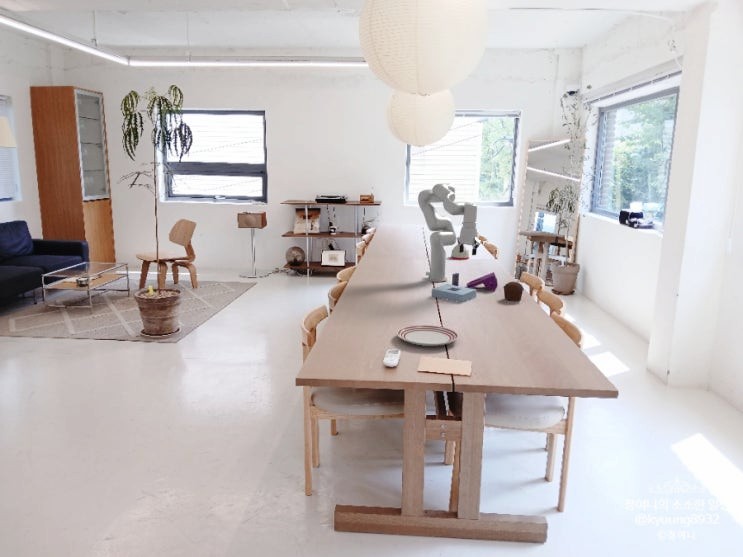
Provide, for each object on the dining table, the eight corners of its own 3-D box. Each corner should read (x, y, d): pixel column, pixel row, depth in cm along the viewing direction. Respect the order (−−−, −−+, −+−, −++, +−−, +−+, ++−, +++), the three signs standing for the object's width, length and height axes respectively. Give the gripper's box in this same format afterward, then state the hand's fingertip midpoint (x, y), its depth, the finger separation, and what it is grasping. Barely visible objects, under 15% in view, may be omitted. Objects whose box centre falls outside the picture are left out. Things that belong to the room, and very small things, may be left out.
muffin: (512, 303, 307) (513, 285, 305) (498, 298, 316) (499, 281, 314) (527, 300, 313) (528, 283, 311) (512, 295, 323) (514, 279, 320)
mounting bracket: (471, 298, 338) (499, 288, 333) (466, 286, 337) (494, 275, 332) (471, 294, 347) (499, 284, 342) (466, 282, 346) (493, 272, 341)
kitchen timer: (471, 257, 436) (472, 239, 432) (464, 260, 424) (465, 241, 421) (455, 255, 443) (456, 237, 439) (448, 258, 431) (449, 239, 428)
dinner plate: (397, 329, 260) (398, 322, 260) (456, 331, 258) (456, 324, 257) (394, 349, 234) (395, 342, 233) (460, 352, 231) (460, 345, 231)
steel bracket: (449, 290, 334) (450, 273, 332) (454, 288, 338) (455, 272, 335) (455, 291, 331) (456, 274, 329) (459, 289, 335) (460, 273, 333)
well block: (431, 296, 318) (431, 288, 317) (446, 291, 330) (446, 284, 329) (462, 302, 306) (462, 294, 305) (475, 297, 318) (476, 289, 317)
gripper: (454, 223, 329) (452, 252, 333) (477, 227, 316) (475, 256, 320) (462, 222, 334) (460, 250, 338) (485, 226, 321) (483, 255, 325)
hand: (467, 253), depth 329 cm, fingers open, 9 cm apart
